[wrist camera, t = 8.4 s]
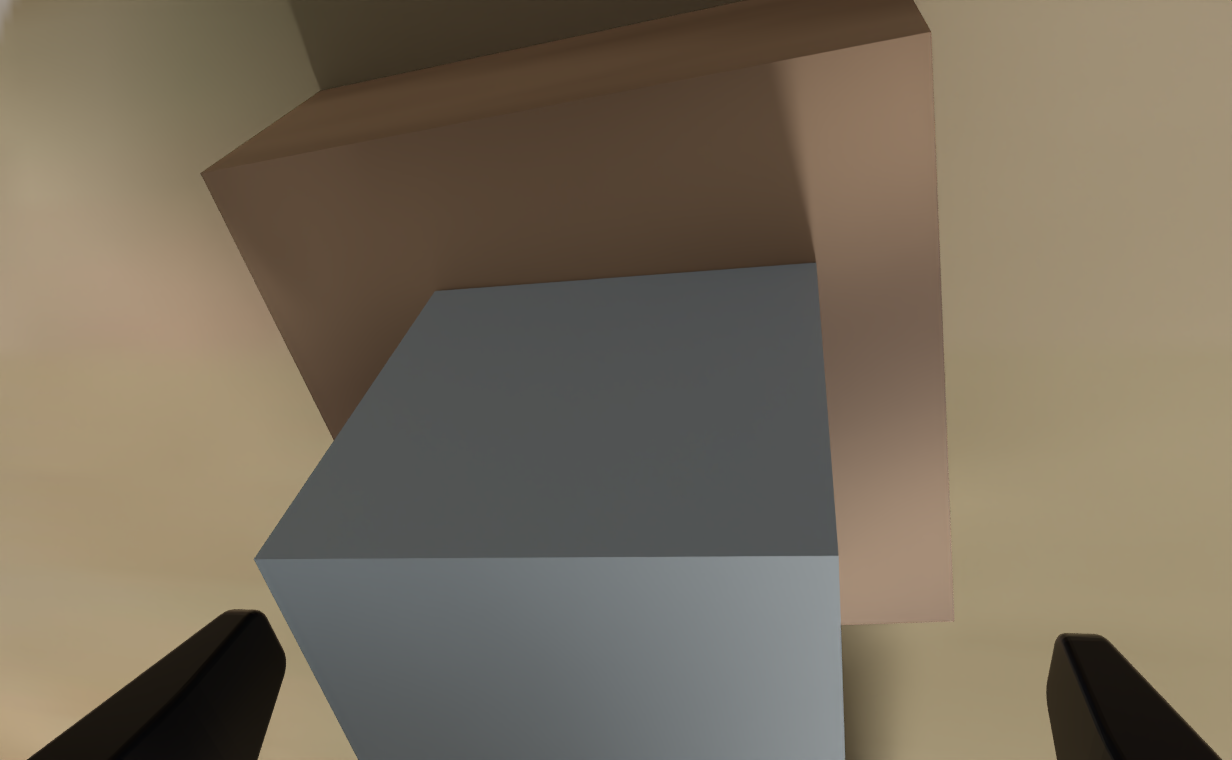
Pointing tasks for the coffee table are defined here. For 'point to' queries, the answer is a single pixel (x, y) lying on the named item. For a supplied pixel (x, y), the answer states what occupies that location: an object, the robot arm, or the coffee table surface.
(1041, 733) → the coffee table surface
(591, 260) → the walnut block
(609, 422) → the slate cube
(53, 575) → the coffee table surface
